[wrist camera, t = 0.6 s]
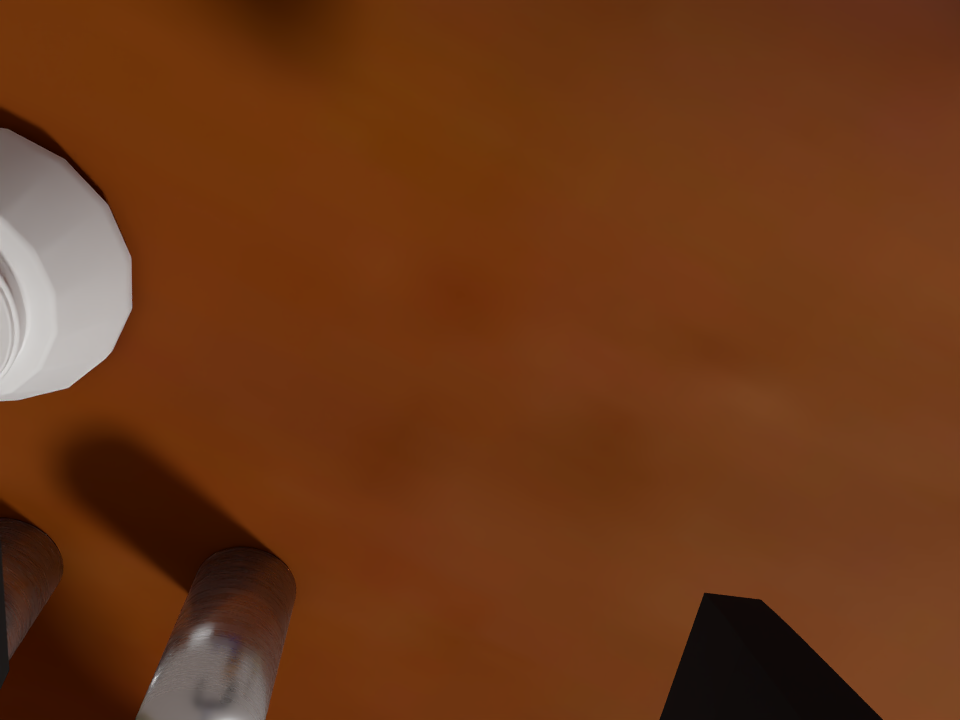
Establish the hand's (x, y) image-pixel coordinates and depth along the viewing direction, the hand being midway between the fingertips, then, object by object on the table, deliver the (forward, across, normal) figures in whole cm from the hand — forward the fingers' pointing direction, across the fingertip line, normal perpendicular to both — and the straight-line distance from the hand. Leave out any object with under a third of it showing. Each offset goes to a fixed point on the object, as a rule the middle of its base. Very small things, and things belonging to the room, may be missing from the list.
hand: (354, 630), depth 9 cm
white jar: (+9, +7, 0) cm, 11 cm away
